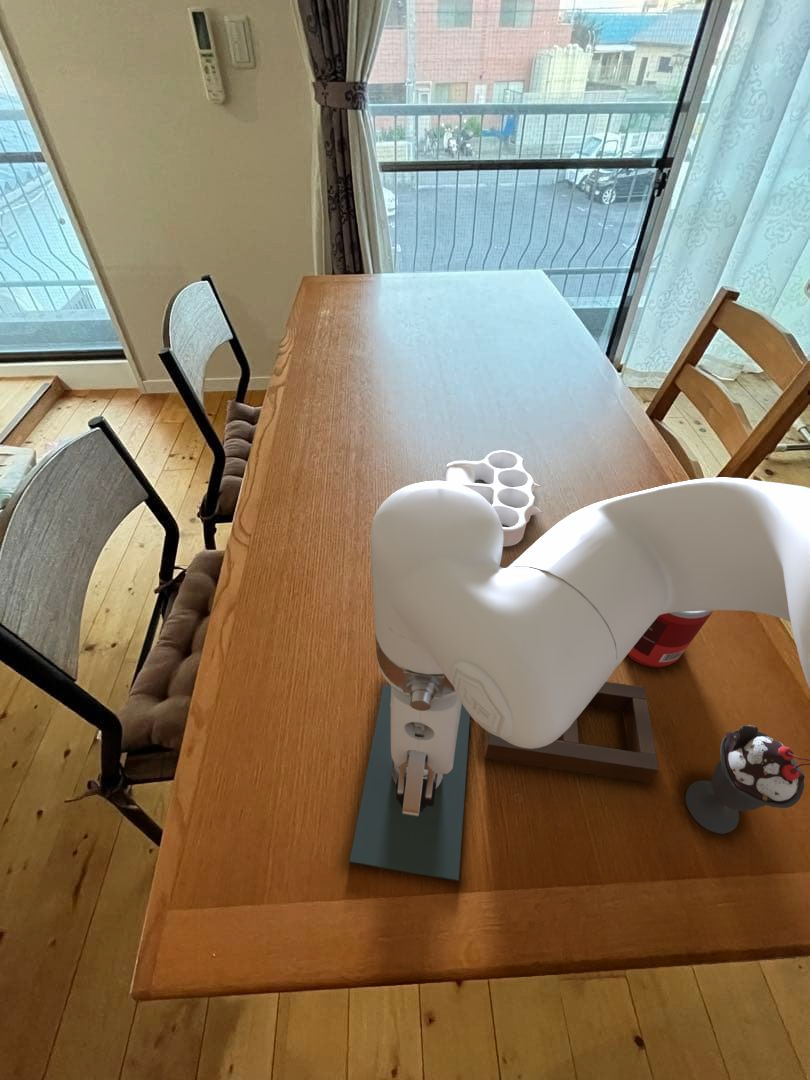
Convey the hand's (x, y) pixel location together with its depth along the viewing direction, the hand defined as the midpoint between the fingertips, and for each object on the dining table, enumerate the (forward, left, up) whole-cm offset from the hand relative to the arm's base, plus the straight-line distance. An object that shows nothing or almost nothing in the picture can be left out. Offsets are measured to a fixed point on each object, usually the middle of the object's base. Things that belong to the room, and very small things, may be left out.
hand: (422, 745), depth 51 cm
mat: (0, 0, -7) cm, 7 cm away
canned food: (+20, -26, -7) cm, 34 cm away
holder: (+7, -15, -7) cm, 18 cm away
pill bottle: (0, 0, -7) cm, 7 cm away
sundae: (+1, -29, -7) cm, 30 cm away
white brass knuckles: (+42, -6, -7) cm, 43 cm away
